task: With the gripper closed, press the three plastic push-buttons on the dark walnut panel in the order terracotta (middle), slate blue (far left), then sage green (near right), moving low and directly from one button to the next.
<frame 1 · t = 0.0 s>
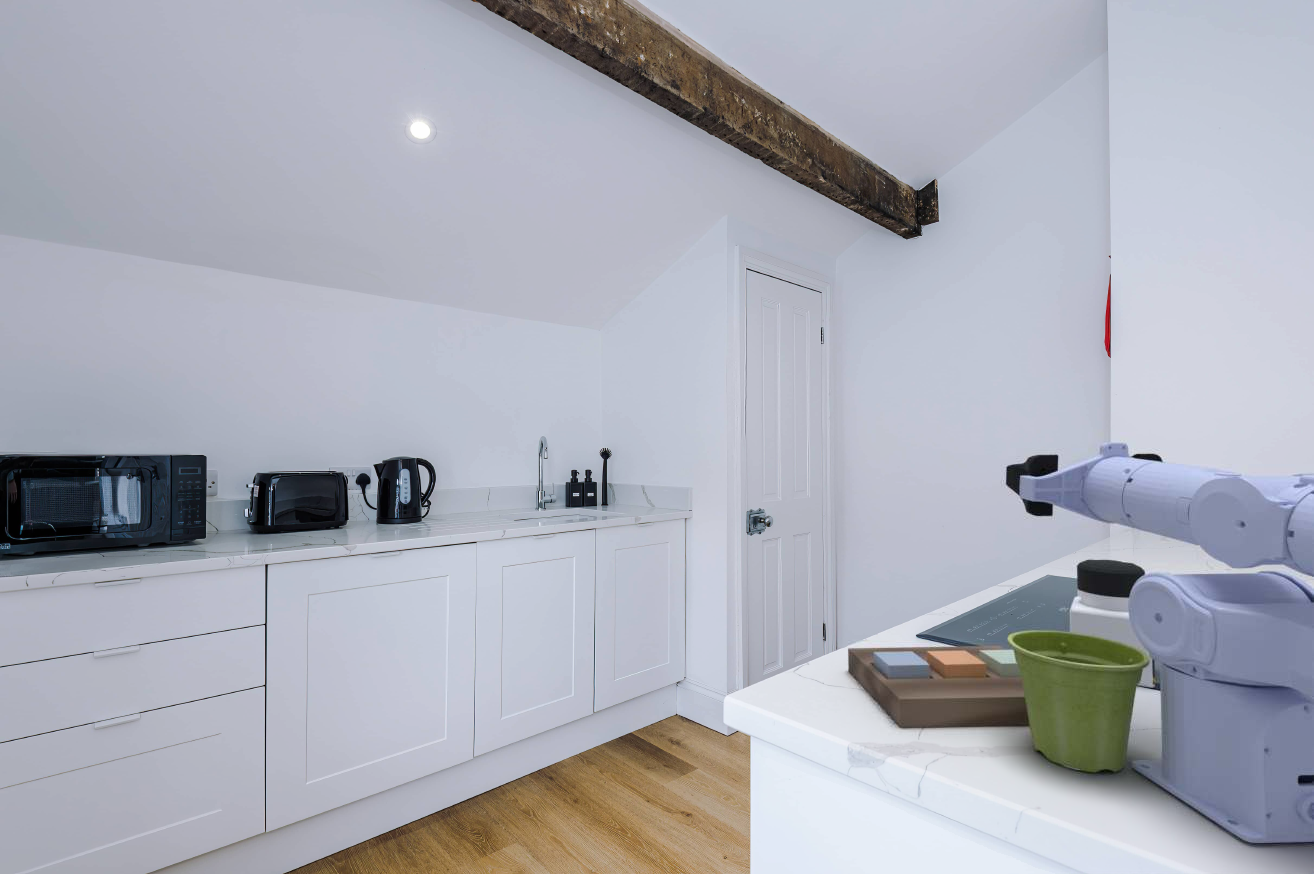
hand: (1046, 475, 63), 22 cm above the counter, tool horizontal, fingers open, 7 cm apart
button terracotta: (955, 669, 62), point 2 cm above the counter, slide at 0.0 cm
button sage: (1010, 668, 62), point 2 cm above the counter, slide at 0.0 cm
plant pot: (1077, 757, 50), on the counter
button slate: (901, 670, 62), point 3 cm above the counter, slide at 0.0 cm
medicine bottle: (1112, 673, 68), on the counter
button panel: (956, 694, 62), on the counter
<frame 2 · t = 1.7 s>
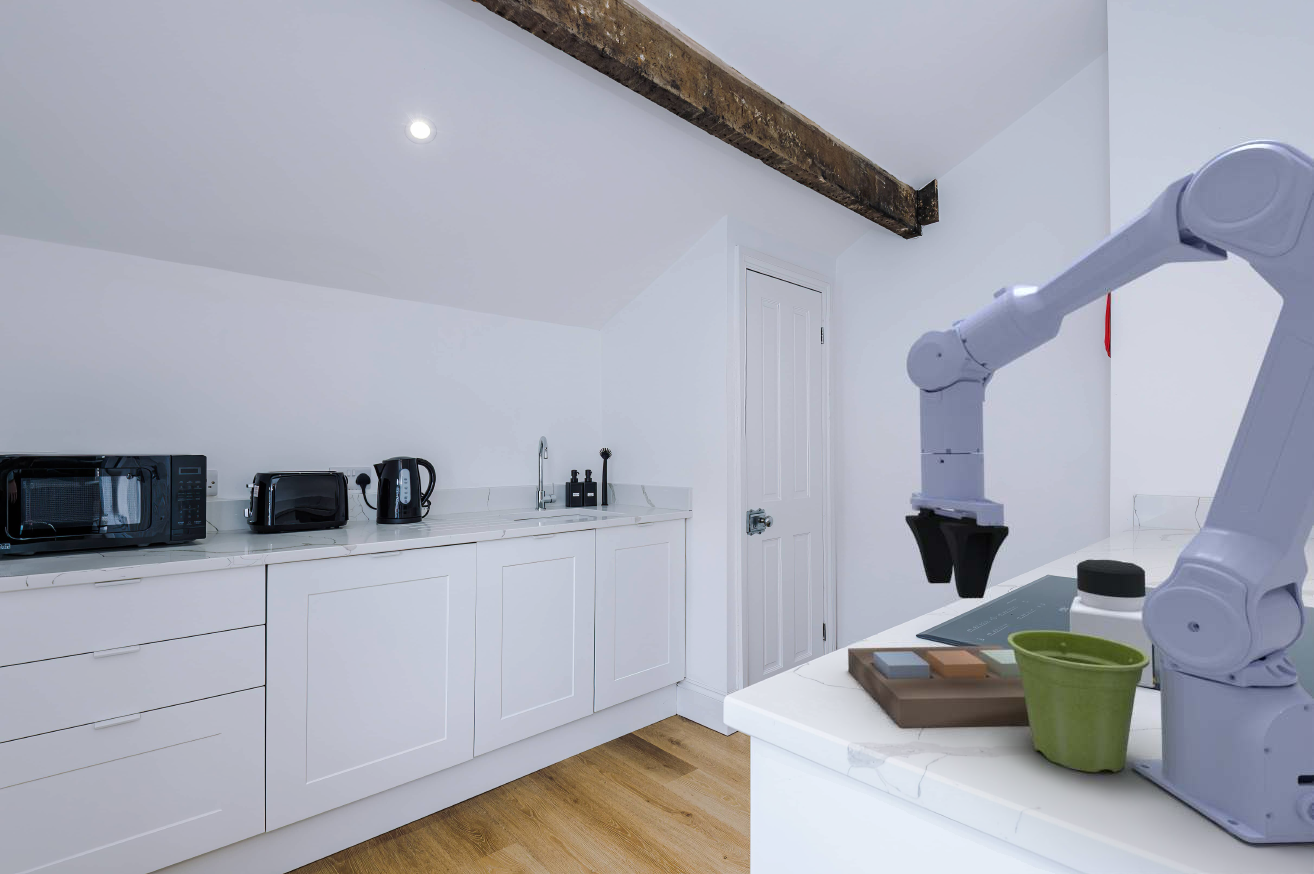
hand: (954, 589, 62), 10 cm above the counter, tool pointing down, fingers open, 6 cm apart
nothing on the counter moved.
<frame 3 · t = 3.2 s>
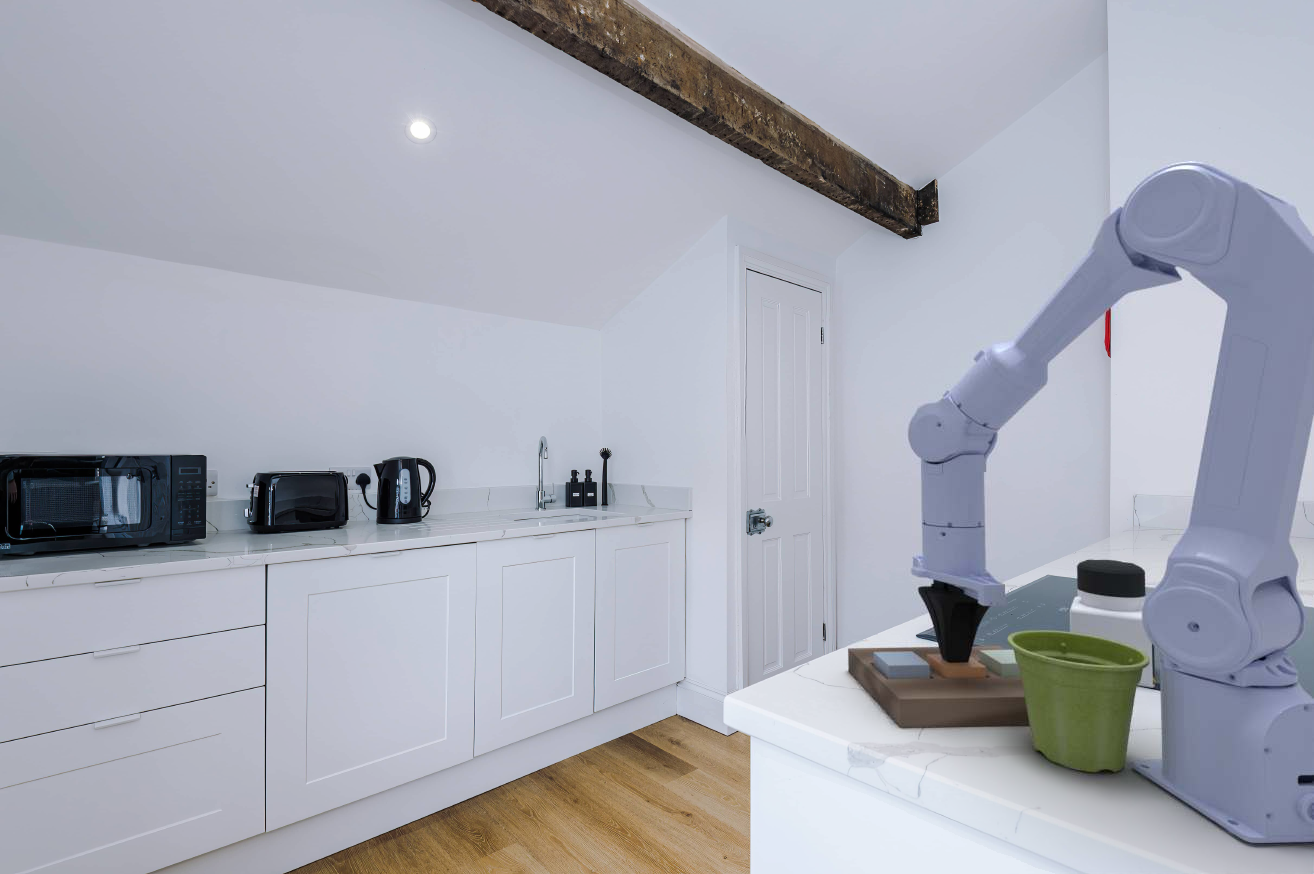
hand: (955, 660, 62), 3 cm above the counter, tool pointing down, fingers closed, pressing on button terracotta
button terracotta: (955, 672, 62), point 2 cm above the counter, slide at 0.3 cm, touching gripper
everything else where it was.
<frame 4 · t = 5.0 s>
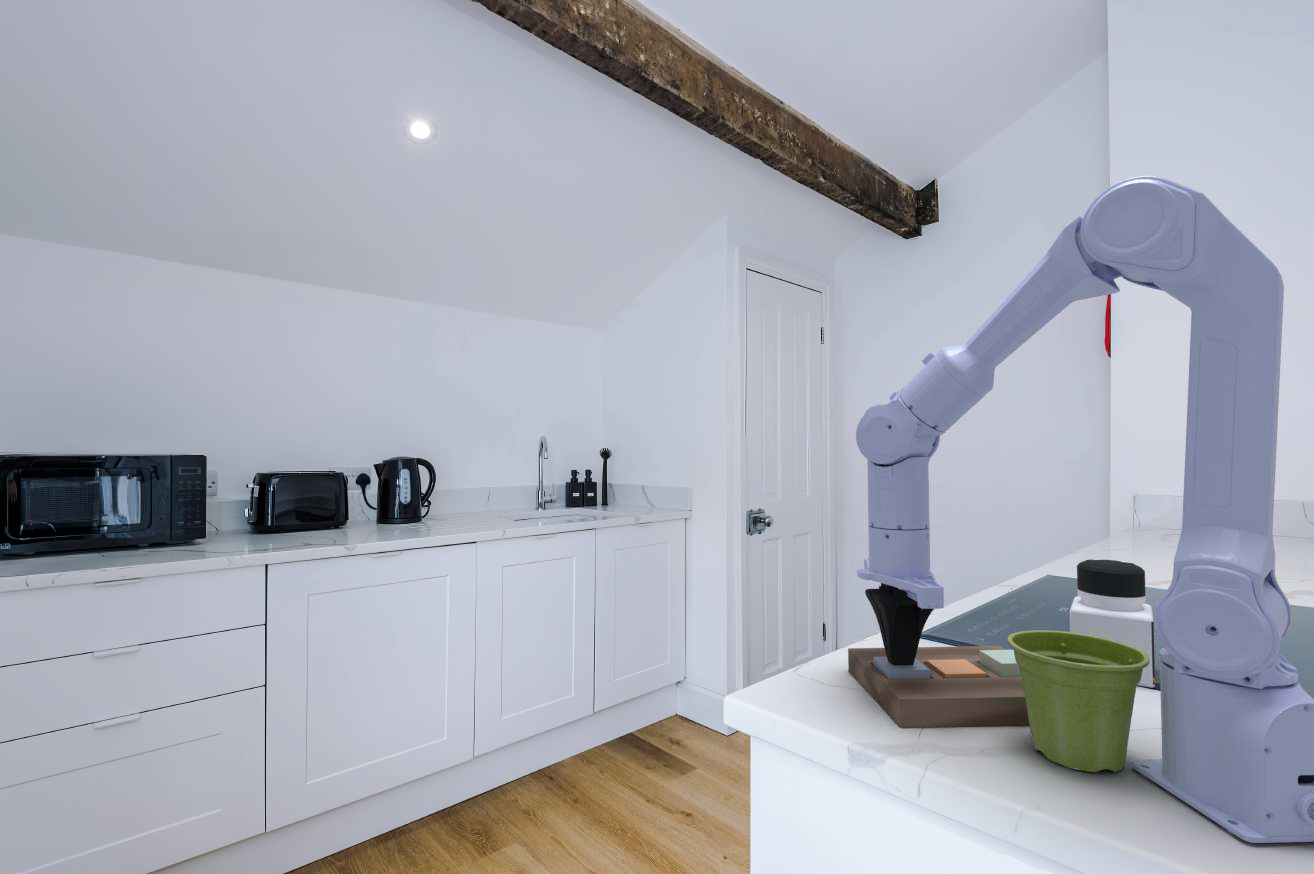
hand: (900, 663, 62), 3 cm above the counter, tool pointing down, fingers closed, pressing on button slate
button terracotta: (955, 678, 62), point 2 cm above the counter, slide at 0.9 cm
button slate: (901, 675, 62), point 2 cm above the counter, slide at 0.5 cm, touching gripper
everything else where it was.
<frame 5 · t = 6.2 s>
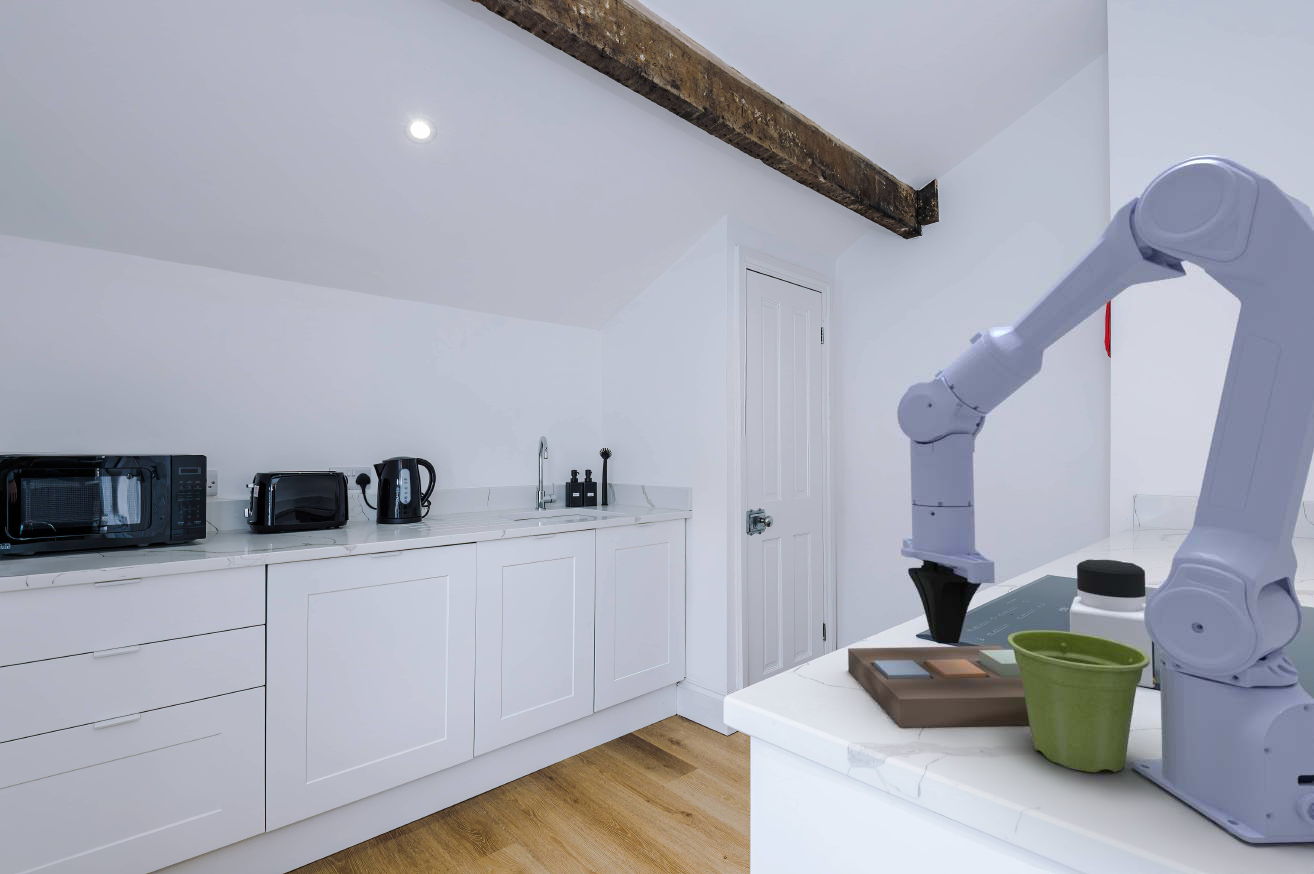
hand: (945, 641, 62), 5 cm above the counter, tool pointing down, fingers closed
button slate: (901, 679, 62), point 2 cm above the counter, slide at 0.9 cm
everything else where it was.
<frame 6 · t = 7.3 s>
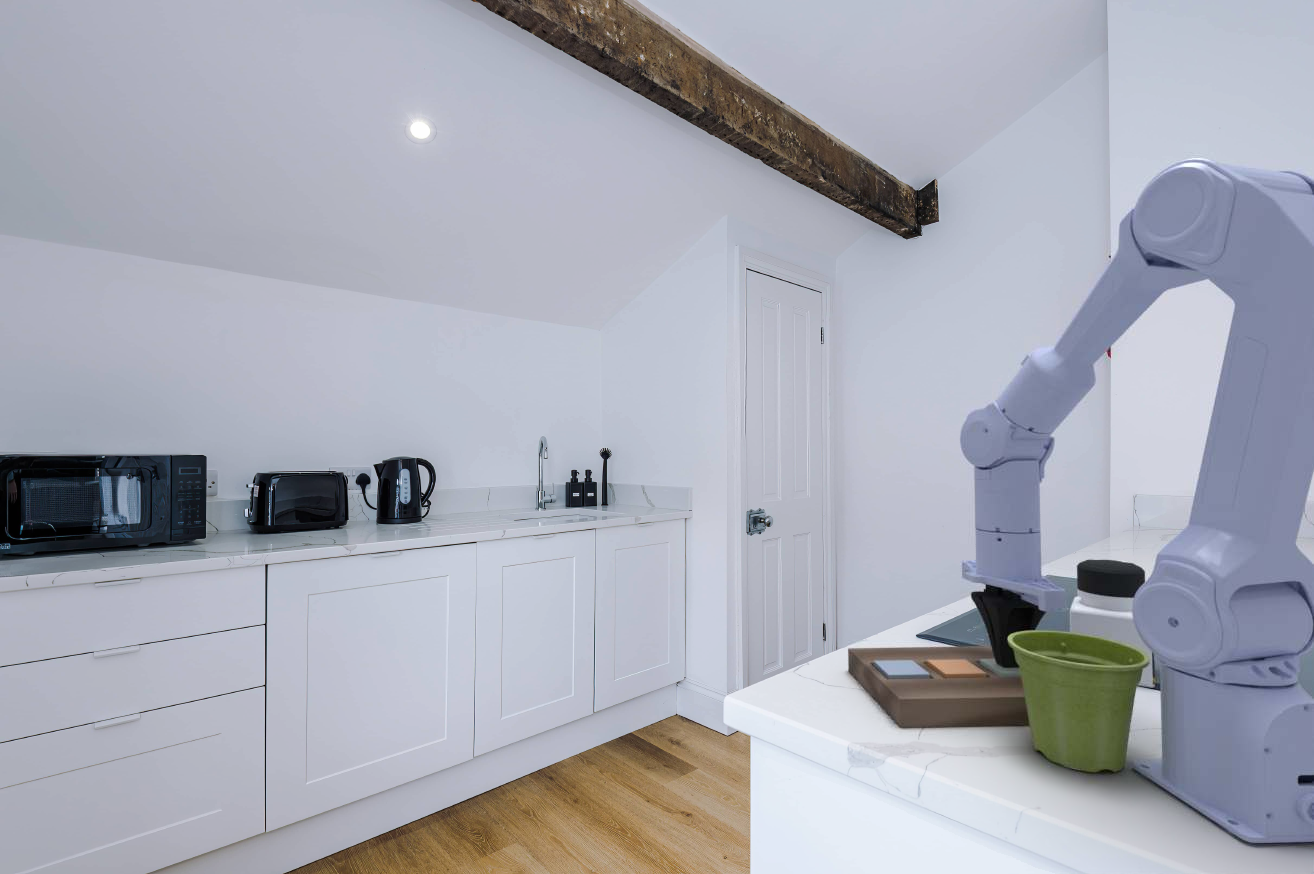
hand: (1009, 665, 62), 3 cm above the counter, tool pointing down, fingers closed, pressing on button sage
button sage: (1010, 677, 62), point 2 cm above the counter, slide at 0.9 cm, touching gripper
everything else where it was.
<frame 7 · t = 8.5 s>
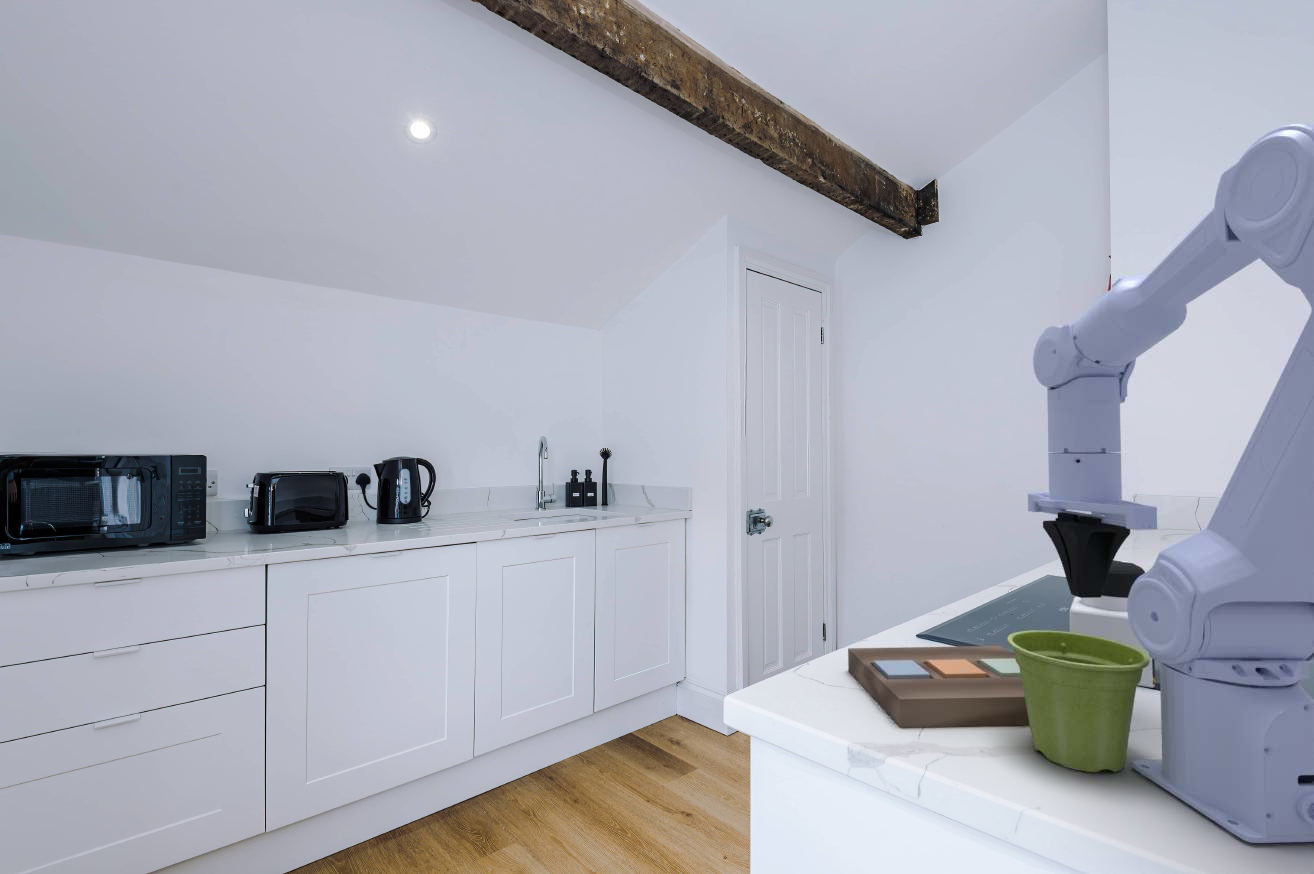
hand: (1086, 595, 59), 10 cm above the counter, tool pointing down, fingers closed
button sage: (1010, 677, 62), point 2 cm above the counter, slide at 0.9 cm
everything else where it was.
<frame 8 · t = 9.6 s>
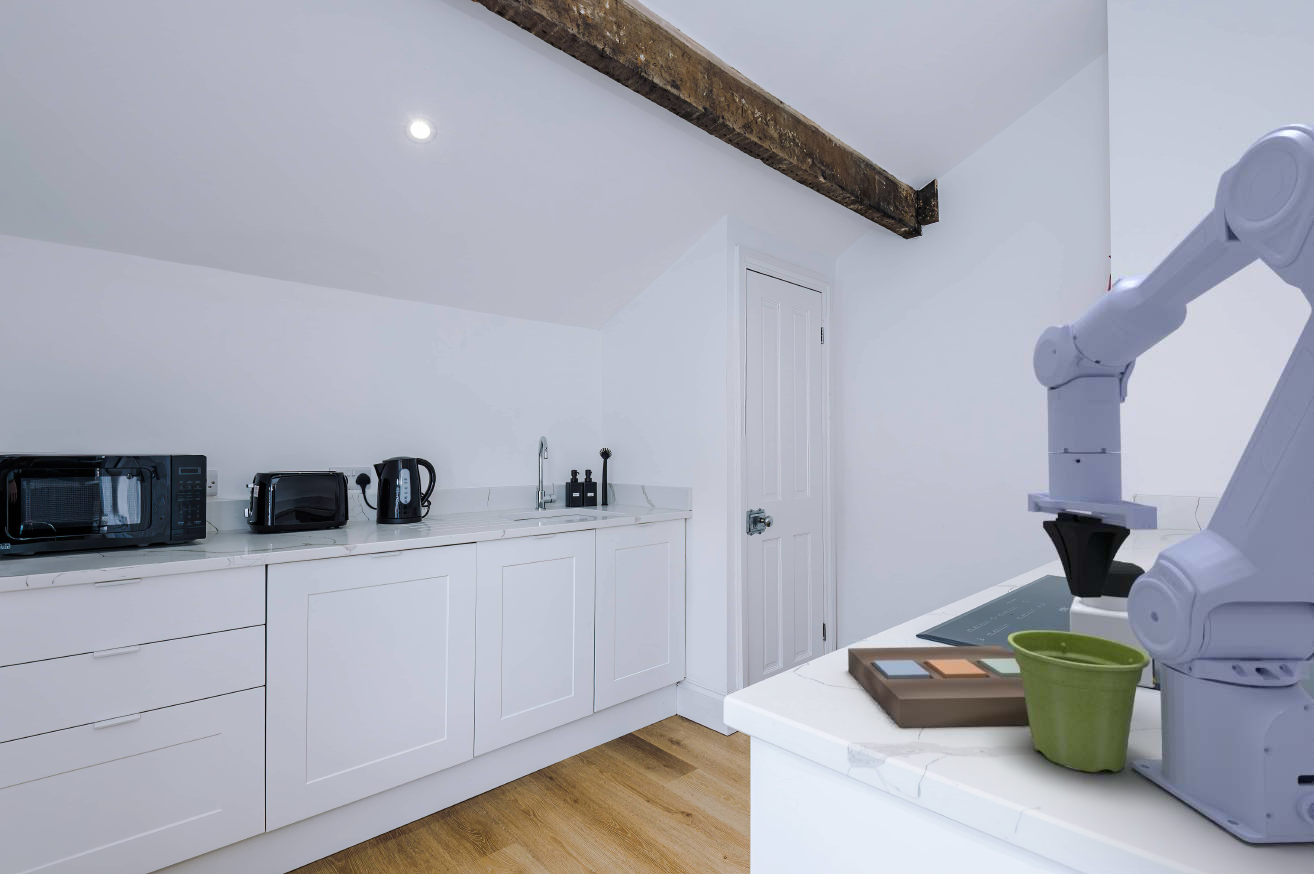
hand: (1086, 595, 59), 10 cm above the counter, tool pointing down, fingers closed
nothing on the counter moved.
at the end: button terracotta slide at 0.9 cm; button slate slide at 0.9 cm; button sage slide at 0.9 cm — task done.
